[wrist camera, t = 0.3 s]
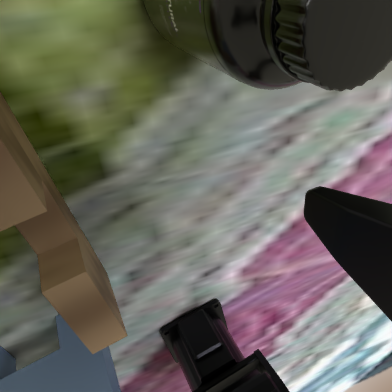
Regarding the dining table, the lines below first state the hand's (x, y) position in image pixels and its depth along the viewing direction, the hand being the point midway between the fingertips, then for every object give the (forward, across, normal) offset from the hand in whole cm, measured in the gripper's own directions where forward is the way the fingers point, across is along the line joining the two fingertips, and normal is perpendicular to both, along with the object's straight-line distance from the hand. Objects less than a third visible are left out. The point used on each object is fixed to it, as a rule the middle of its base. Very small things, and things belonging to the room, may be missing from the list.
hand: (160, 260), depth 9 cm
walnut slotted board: (+14, +4, +5) cm, 16 cm away
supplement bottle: (+14, -8, -4) cm, 17 cm away
